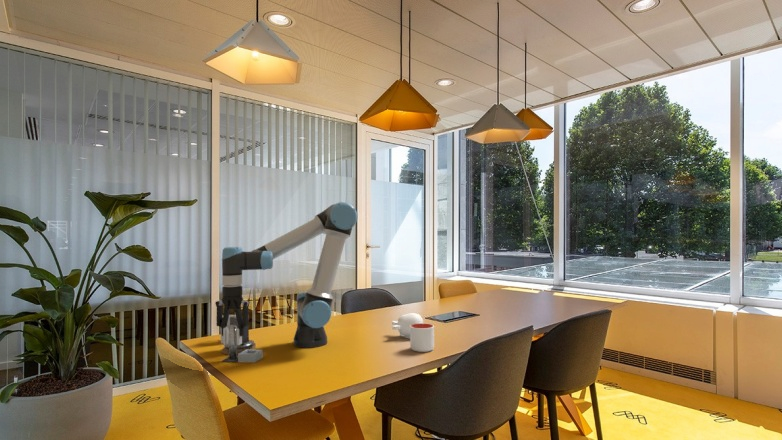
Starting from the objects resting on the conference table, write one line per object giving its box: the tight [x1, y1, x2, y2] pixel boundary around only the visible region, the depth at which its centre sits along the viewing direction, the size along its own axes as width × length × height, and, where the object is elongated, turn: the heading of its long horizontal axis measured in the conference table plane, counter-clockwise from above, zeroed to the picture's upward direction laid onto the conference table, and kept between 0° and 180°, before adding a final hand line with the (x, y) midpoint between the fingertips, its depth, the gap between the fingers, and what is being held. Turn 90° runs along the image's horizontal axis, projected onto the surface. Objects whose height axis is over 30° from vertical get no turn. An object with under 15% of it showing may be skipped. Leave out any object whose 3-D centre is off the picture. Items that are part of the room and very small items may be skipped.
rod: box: [228, 325, 238, 360], centre depth 173 cm, size 3×3×13 cm
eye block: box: [237, 349, 264, 363], centre depth 173 cm, size 7×7×3 cm
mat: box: [221, 356, 238, 363], centre depth 173 cm, size 6×6×1 cm
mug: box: [219, 314, 236, 345], centre depth 202 cm, size 10×7×12 cm, turn 25°
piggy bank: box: [391, 312, 425, 339], centre depth 205 cm, size 12×12×15 cm
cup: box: [409, 323, 435, 353], centre depth 184 cm, size 10×10×10 cm
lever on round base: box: [223, 316, 255, 349], centre depth 187 cm, size 12×12×13 cm
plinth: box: [221, 342, 257, 355], centre depth 186 cm, size 10×10×2 cm
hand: (232, 343), depth 173 cm, fingers open, 5 cm apart
